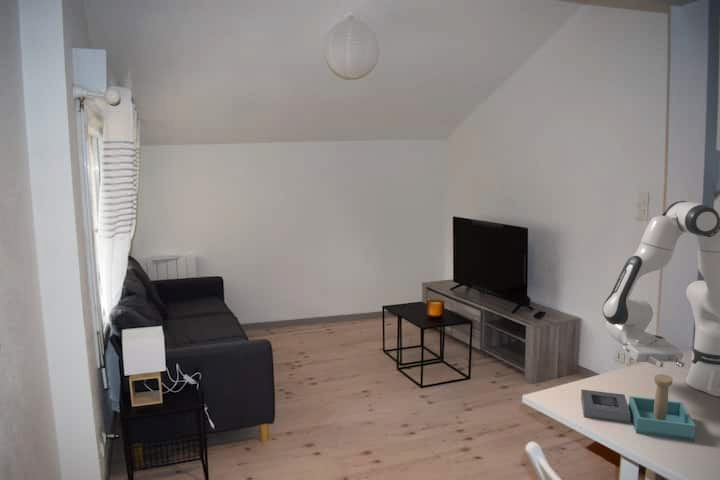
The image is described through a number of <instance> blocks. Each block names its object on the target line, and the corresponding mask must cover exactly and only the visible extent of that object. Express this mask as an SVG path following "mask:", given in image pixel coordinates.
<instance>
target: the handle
mask: <svg viewBox="0 0 720 480" xmlns="http://www.w3.org/2000/svg"><path fill="white" fill-rule="evenodd" d="M653 377H654V378H653V381H654V384H656V388H655V389H656V391H655V396H654V397H655V398H654V399H655V401H654V419H657V420H665V421H666V419H665V418H666V416H667V410H668V401H669V386H672V385H673V377H672V376H670V375H668V374H664V373H663V374H661V373H659V374H655V376H653Z"/></svg>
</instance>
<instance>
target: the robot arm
mask: <svg viewBox="0 0 720 480" xmlns="http://www.w3.org/2000/svg"><path fill="white" fill-rule="evenodd" d="M684 233H688V234H693V235H696V237H697V262H698V263H697V267H698V271H699V273H700V274H701V276H702V277H703V279H704V280H694V281H692V282H691V283H690V284H688V286H687V287H686V291H685V296H686V298H687V300H688V302H689V304H690V306H691V310H692V315H693V319H694V327H695V330H694V332H695V333H694V340H693V341H694V343H693V346H692V349H691V355H690V356H691V357H690V358H691V359H690V360H691V364H690V368H689V371H688V375H687V377H686V378H685V383H686V384H687V386H689V387H692V388H693V389H696V390H698V391H702V392H704V393H707V394H709V395H711V396H714V397H720V214H719V213H718V211H717V210H715V209H714V208H713V207H712V206H710V205H707V204H703V203H700V202H695V201H686V200H680V201H675V202H673V203H671V204H670V205H669V206H668V207H667V209H666V210H665V211H664V212H663V213H662V215H657V216H654V217H653V218H651V219H650V221H649V222H648V224H647V226H646V229H645V231H644V233H643V235H642V238H641V240H640V242H639V245H638V248H637V249H636V252H635V253H634V254H633V255H632V256H631V257H630V258H628V259H627V261H626V262H625V264H624V265H623V268H622V270H621V272H620V273H619V276H618V278H617V279H616V282H615V284H614V286H613V289H612V291H611V292H610V294H609V296H608V297H607V298H606V300H605V301H604V303H603V305H602V315H603V316H604V318H605V320H606V322H605V329H606V332H607V333H608V334H609V335H610V336H611V337H612V338H613V339H614V340H616V342H618V343H620V345H621V347H622V349H624V350H625V352H626V354H627V355H628V356H629V357H630V358H631V359H633V360H634V361H636V362H638V363H649V364H652V365H653V366H655V367H657V368H663V366H664V362H665V363H667V362H668V363H669V362H670V363H672V362H673V363H676V366H678V367H679V368H684V367H685V364H686V362H685V361H683V360H682V359H683V358H684V352H683V350H681V349H680V348H679V347H677V346H676V345H675V344H673V343H671V342H670V341H667V339H666V338H665V337H663V336H662V335H661V336H660V335H656V334H652V333H650V332H647V331H645V330H646V329H647V328H648V327H649V324H650V323H651V321H652V319H653V313H654V312H653V308H652V306H651V305H650V304H649V302H647V300H646V301H645V300H642V299H635V298H634V299H632V298H630V297H631V294H632V292H633V290H634V288H635V286H636V283H637V282H638V280H639V279H640V278H642V277H643V276H644V275H646V274H649V273H653V272H656V271H659V270H662V269H663V268H666V266H668V264H669V263H670V262H671V260H672V258H673V255H674V251H675V249H676V245H677V242H678V240H679V238H680V237H681V236H682V235H684Z"/></svg>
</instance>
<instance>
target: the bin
mask: <svg viewBox="0 0 720 480" xmlns="http://www.w3.org/2000/svg"><path fill="white" fill-rule="evenodd" d="M654 401H655V398H651V397H650V398H648V397H643V396H642V397H641V396H633V395H629V398H628V407H629V410H630V413H631V414H630V415H631V416H630V419H631V418H632V419H631V421H632V424H633V428H634V430H635V433H636V434H641V435H647V436H649V435H650V436H655V437H663V438H669V439H678V440H683V441H690V442H694V441H695V436H696V435H695V434H696V424H695V422H694V420H693V419H692V418H691V415H690V413H689V412H688V410H687V408H686V406H685V405H684V402H681V401H674V400H668V410H667V416H666V418H665V419H666V421H665V420H657V419H654Z"/></svg>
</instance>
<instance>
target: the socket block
mask: <svg viewBox="0 0 720 480" xmlns="http://www.w3.org/2000/svg"><path fill="white" fill-rule="evenodd" d="M580 401H581V407H582V408H581V409H582V413H583V415H582V416H583V418H589V419H596V420H603V421H611V422H617V423H625V424H630V423H631V416H630V414H631V413H630V410H629V403H628V401H627V399H626V396H625V394H623V393H616V392H615V393H614V392H607V391H606V392H605V391H597V390H589V389H582V388H581V391H580ZM612 406H614V407H612Z"/></svg>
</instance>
